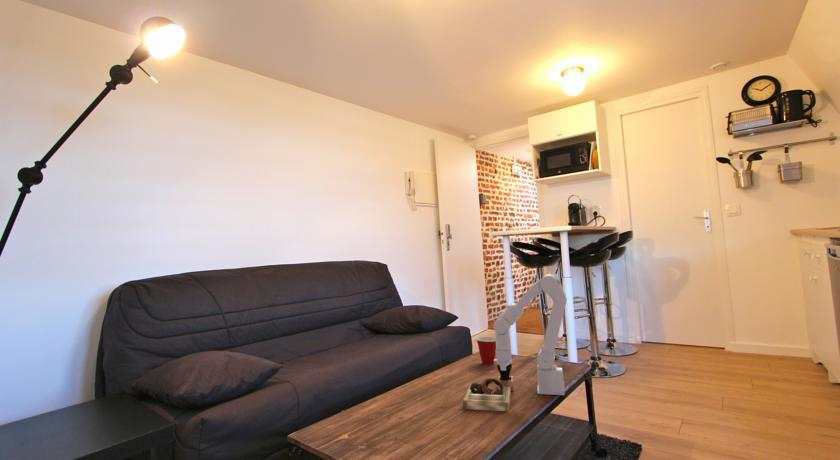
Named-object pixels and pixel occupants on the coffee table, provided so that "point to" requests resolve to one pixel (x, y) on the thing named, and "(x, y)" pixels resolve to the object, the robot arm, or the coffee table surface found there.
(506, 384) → the pull frame
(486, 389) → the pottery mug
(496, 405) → the frame
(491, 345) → the plastic cup
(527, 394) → the coffee table surface
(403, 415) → the coffee table surface
